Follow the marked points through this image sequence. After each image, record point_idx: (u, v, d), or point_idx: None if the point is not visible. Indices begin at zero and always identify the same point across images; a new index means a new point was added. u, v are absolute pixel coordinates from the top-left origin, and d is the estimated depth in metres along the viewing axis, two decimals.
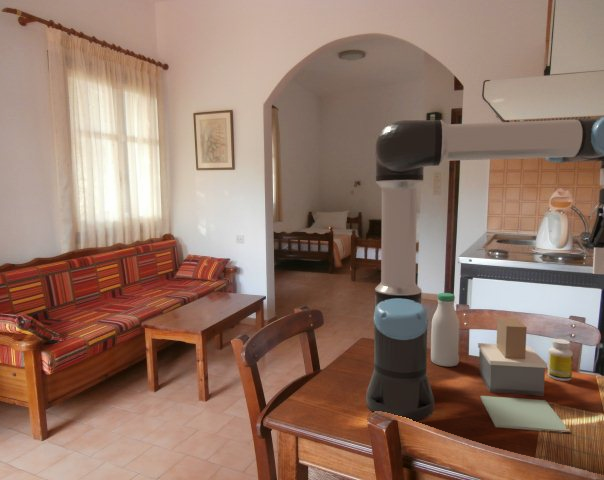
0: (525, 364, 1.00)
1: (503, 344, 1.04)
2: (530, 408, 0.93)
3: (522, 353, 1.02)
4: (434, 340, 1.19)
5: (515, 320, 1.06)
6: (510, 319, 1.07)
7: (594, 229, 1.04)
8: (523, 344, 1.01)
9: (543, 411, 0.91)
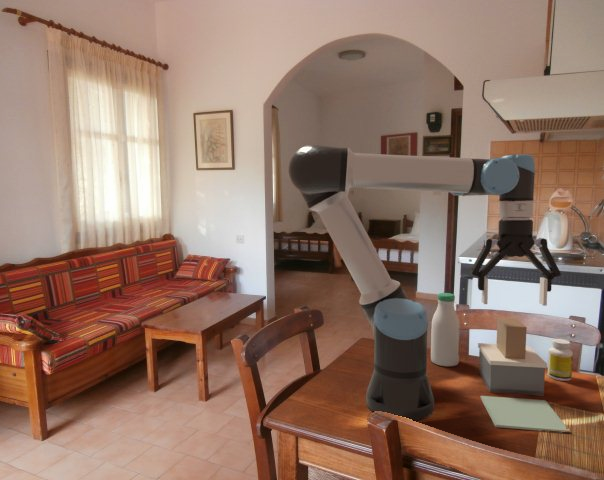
0: (525, 364, 1.00)
1: (503, 344, 1.04)
2: (530, 408, 0.93)
3: (522, 353, 1.02)
4: (434, 340, 1.19)
5: (515, 320, 1.06)
6: (510, 319, 1.07)
7: None
8: (523, 344, 1.01)
9: (543, 411, 0.91)
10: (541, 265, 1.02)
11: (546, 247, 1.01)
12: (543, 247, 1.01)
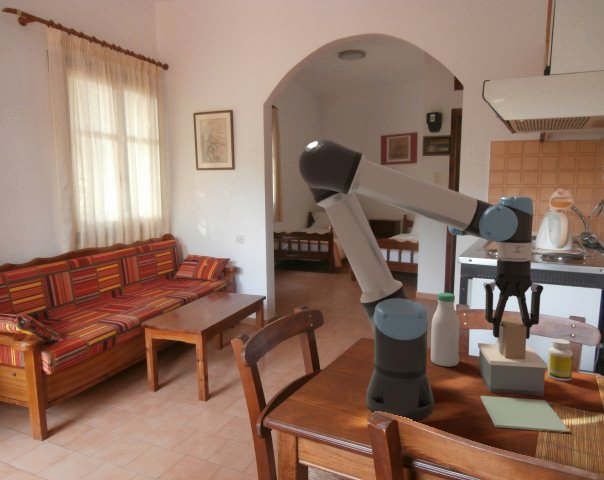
0: (525, 364, 1.00)
1: (503, 344, 1.04)
2: (530, 408, 0.93)
3: (522, 353, 1.02)
4: (434, 340, 1.19)
5: (515, 320, 1.06)
6: (510, 319, 1.07)
7: None
8: (523, 344, 1.01)
9: (543, 411, 0.91)
10: (526, 311, 1.03)
11: (539, 294, 1.02)
12: (536, 293, 1.02)
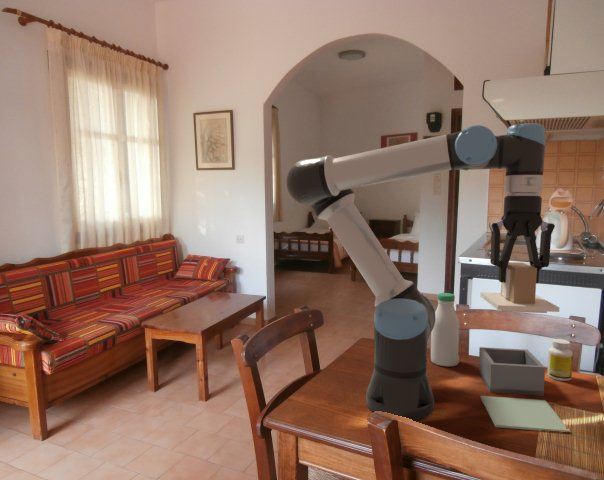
0: (536, 308, 0.90)
1: (510, 289, 0.95)
2: (530, 408, 0.93)
3: (532, 297, 0.92)
4: (434, 340, 1.19)
5: (522, 264, 0.97)
6: (517, 263, 0.98)
7: None
8: (533, 287, 0.92)
9: (543, 411, 0.91)
10: (536, 252, 0.94)
11: (550, 233, 0.93)
12: (547, 231, 0.93)
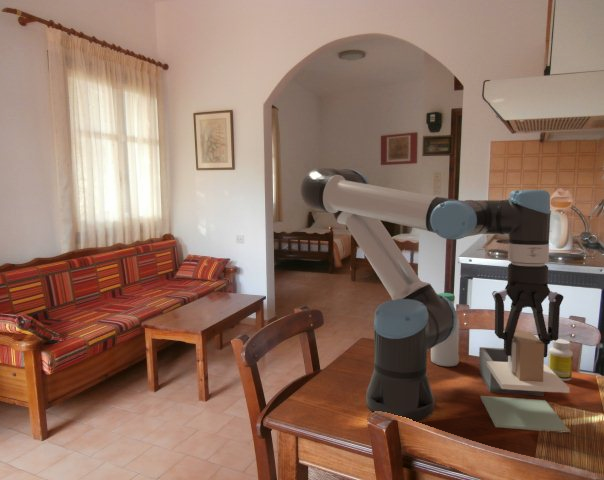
0: (543, 388, 0.84)
1: (516, 363, 0.88)
2: (530, 408, 0.93)
3: (539, 375, 0.86)
4: None
5: (530, 335, 0.91)
6: (524, 334, 0.92)
7: None
8: (540, 364, 0.86)
9: (543, 411, 0.91)
10: (543, 325, 0.88)
11: (558, 305, 0.87)
12: (555, 303, 0.87)
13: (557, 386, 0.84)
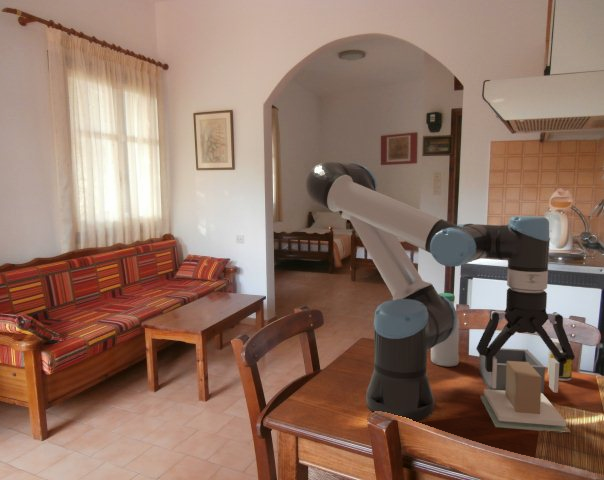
0: (540, 421, 0.85)
1: (514, 395, 0.89)
2: None
3: (536, 407, 0.87)
4: None
5: (527, 366, 0.92)
6: (521, 364, 0.93)
7: None
8: (537, 396, 0.87)
9: None
10: (553, 345, 0.88)
11: (561, 325, 0.87)
12: (558, 325, 0.87)
13: (554, 419, 0.85)
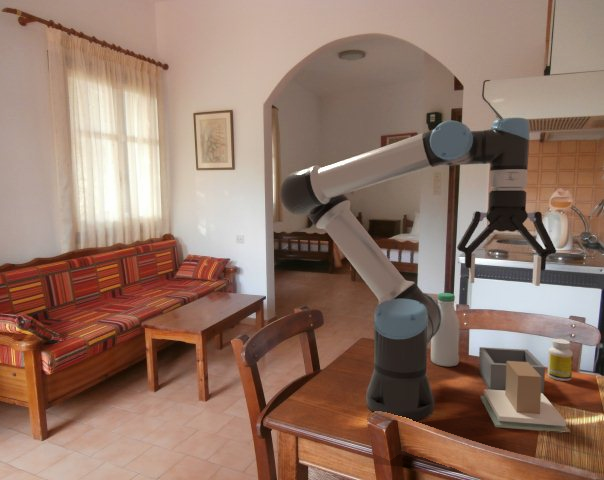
0: (540, 421, 0.85)
1: (514, 395, 0.89)
2: None
3: (536, 407, 0.87)
4: (434, 340, 1.19)
5: (527, 366, 0.92)
6: (521, 364, 0.93)
7: None
8: (537, 396, 0.87)
9: None
10: (534, 241, 0.92)
11: (540, 221, 0.92)
12: (537, 221, 0.92)
13: (554, 419, 0.85)
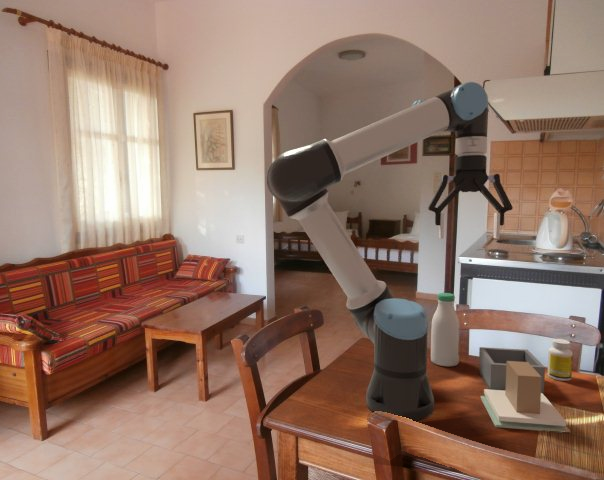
0: (540, 421, 0.85)
1: (514, 395, 0.89)
2: None
3: (536, 407, 0.87)
4: (434, 340, 1.19)
5: (527, 366, 0.92)
6: (521, 364, 0.93)
7: None
8: (537, 396, 0.87)
9: None
10: (494, 199, 1.06)
11: (499, 182, 1.05)
12: (496, 182, 1.05)
13: (554, 419, 0.85)
